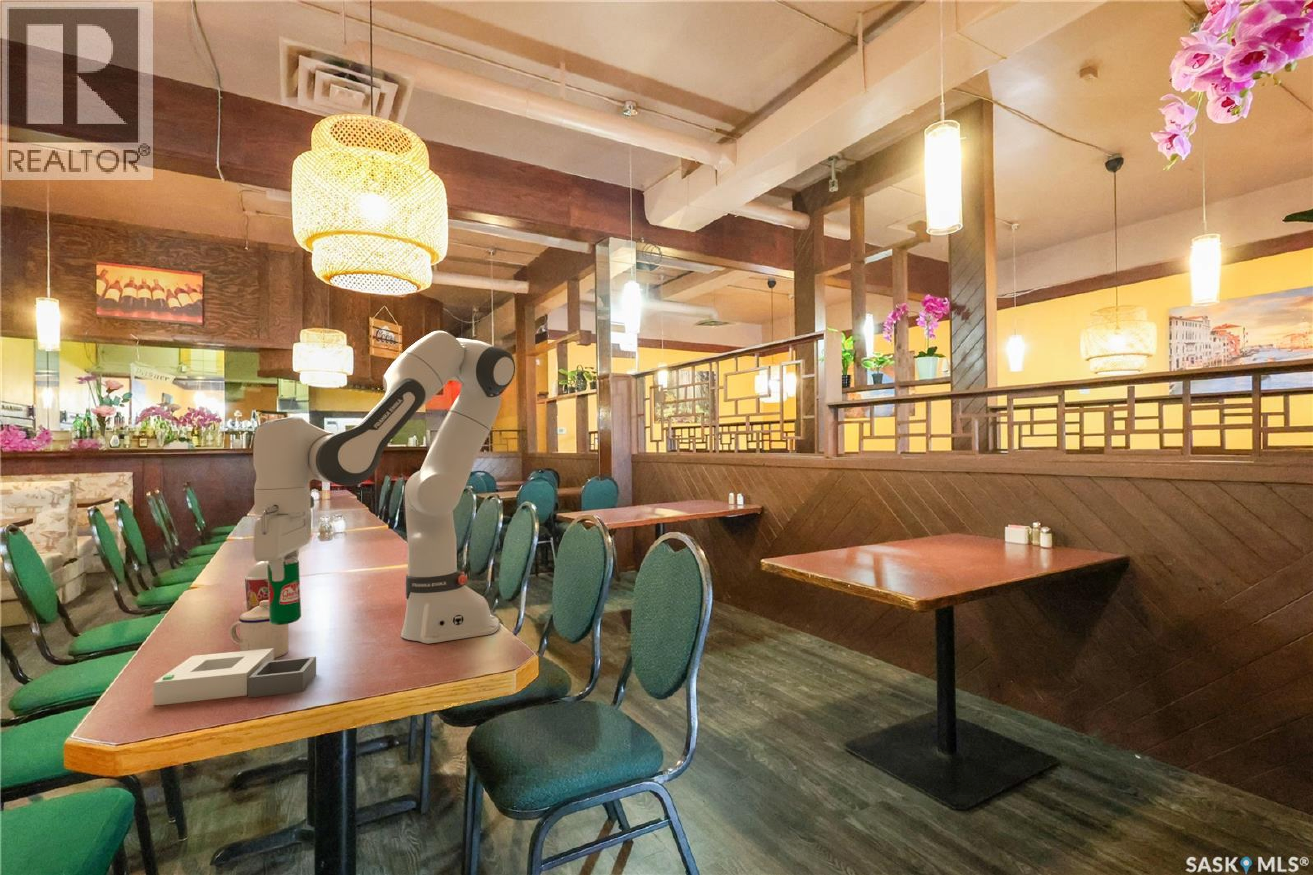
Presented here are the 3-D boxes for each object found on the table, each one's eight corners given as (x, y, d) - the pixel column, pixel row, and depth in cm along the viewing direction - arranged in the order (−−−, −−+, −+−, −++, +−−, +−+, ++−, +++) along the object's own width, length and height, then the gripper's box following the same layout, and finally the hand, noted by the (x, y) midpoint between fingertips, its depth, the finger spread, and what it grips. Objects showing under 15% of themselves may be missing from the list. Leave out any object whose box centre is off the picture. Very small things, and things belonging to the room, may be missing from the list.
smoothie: (291, 628, 147) (291, 547, 147) (254, 638, 140) (254, 553, 140) (275, 624, 151) (274, 545, 152) (238, 632, 144) (238, 550, 145)
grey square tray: (316, 674, 116) (316, 656, 116) (302, 691, 108) (302, 672, 108) (265, 679, 114) (265, 661, 114) (248, 697, 105) (248, 677, 105)
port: (273, 668, 120) (273, 646, 120) (246, 695, 106) (246, 670, 106) (192, 676, 116) (192, 653, 116) (153, 705, 102) (153, 680, 103)
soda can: (283, 626, 108) (281, 560, 108) (262, 625, 110) (260, 560, 110) (307, 618, 113) (305, 555, 113) (287, 617, 114) (284, 554, 114)
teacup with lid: (298, 648, 132) (298, 595, 132) (271, 662, 123) (271, 606, 123) (246, 648, 132) (245, 596, 133) (214, 663, 123) (214, 606, 124)
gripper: (283, 507, 102) (285, 587, 102) (316, 498, 122) (318, 565, 122) (241, 509, 101) (243, 591, 100) (281, 499, 120) (283, 568, 120)
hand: (285, 576), depth 111 cm, fingers closed on soda can, 5 cm apart
